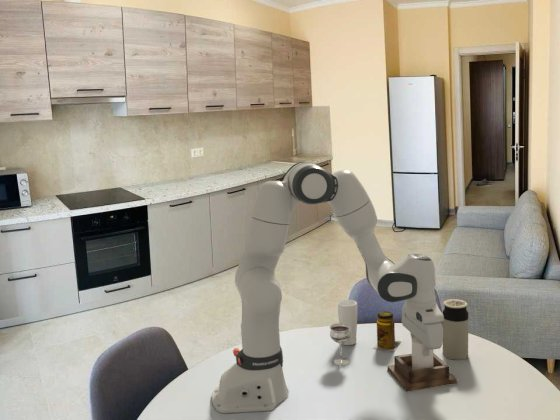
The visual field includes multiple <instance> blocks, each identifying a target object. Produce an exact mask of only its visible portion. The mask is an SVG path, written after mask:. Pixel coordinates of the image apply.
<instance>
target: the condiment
mask: <svg viewBox="0 0 560 420" xmlns="http://www.w3.org/2000/svg"><path fill="white" fill-rule="evenodd" d="M395 325H396V324H395V321H394V314H393V313H392V312H391V311H384V310H383V311H380V312H378V313H377V320H376V339H377V343H376V344H375V346H374V347H373V349H375V350H381V351H388V352H389V351H391V352H395V351H396V350H397V348H398V346H399V345H400V343H401V341H400V340H396V337H395V336H396V334H395V332H396V330H395Z"/></svg>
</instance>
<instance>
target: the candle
mask: <svg viewBox="0 0 560 420" xmlns="http://www.w3.org/2000/svg"><path fill="white" fill-rule="evenodd" d="M423 348H424V346H423V343H422V342H421V341H420V340H419V339H418V338H417V337H415V336H414V337H413V338H411V354H412V370H418V369H424V368H431V367H433V353H434V349H433V350H431V349H430V350H429V356H424V355H423Z"/></svg>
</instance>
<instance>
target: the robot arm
mask: <svg viewBox="0 0 560 420" xmlns="http://www.w3.org/2000/svg"><path fill="white" fill-rule="evenodd" d="M364 187H365V186H363V184H362V183H361V182H360V180H359V179H358V177H357V176H356V174H355V173H354V172H352V171H350V170H348V169H341V170H337V171H335V172H333V173H331V172H329V171H328V170H326V169H325V168H323V167H321V166H320V165H318V164H316V163H314V162H311V161H310V162H309V161H308V162H307V161H300V162H297V163H294V164H293V165H291V166H290V168H288V170H287V171H286V172H285V173H284V175H283V176H281V178H280V179H279V180H269V181H265V182H264V183H262V184H261V185H260V187H259V189H258V191H257V194H256V197H255V200H254V203H253V207H252V211H251V214H250V220H249V225H248V230H247V236H246V241H245V244H244V247H243V251H242V253H241V256H240V260H239V262H238V265H237V268H236V272H235V275H234V284H235V288H236V290H237V292H238V293H239V297H240V299H241V301H240V302H241V322H240V334H241V336H240V337H241V345H242V346H241V348H242V349H241V350H240V349H239V348H238V347H236V348H235V347H234V349H233V350H232V353H233V356H234V357H235V361H236V362H235V363H234V364H233V365H232V366H231V367H230V368H228V369H227V370H226V371H224V372H223V373H222V374H221V377H220V380H219V384H218V386H217V387H215V388H214V389H213V392H212V395H211V402H212V405H213V408H214V410H215V411H217V412H218V413H220V414H231V413H249V412H251V413H252V412H267V411H270V412H271V411H273V410H274V409H275V408H276V407H277V405H279V404H280V403H282V402H283V401H284V400H286V399H287V397H288V396H289V388H288V386H287V383H286V380H285V375H284V370H283V365H284V355H283V349H282V347H281V336H280V335H281V334H280V316H281V315H280V314H281V304H282V299H283V295H282V293H283V292H282V288H281V284H280V281H278V279H277V277H275V272H276V267H277V265H278V262H279V261H280V258H281V256H282V254H284V251H285V249H286V242H287V239H288V233H289V228H290V223H291V216H292V213H293V211H294V208H295V206H296V205H298V203H299V202H301V203H303V204H306V205H318V204H319V205H320V204H322V203H327V204H328V205H329V206H330V208H331V210H332V212H333V215H334V216H335V218H336V220H337V222H338V223H339V225H340V226H341V228H342V230H343V231H344V232H345V233H346V234H347V236H348V237H350V238H351V239H352V240H353V241H354V243H355V244H356V247H357V248H358V251H359V253H360V254H361V256H362V257H361V258H362V259H363V261H364V264H365V277H366V280H367V283H368V285H370V286H371V288H373V289H374V290H375V292H376V293H377V294H378V296H380V298H382V299H383V300H384V301H386V302H389V303H397V302H402V301H404V304H403V305H402V309H401V325H402V326H403V327H404V328H405V329H406V330H407V331H409V332H410V333H409V334H410V337H411V339H412V338H413V337H414V336H415V337H417V338H418V339H419V340H420V341H421V342H422V343H423V346H424V348H423V355H424V356H429V350H430V349H431V350H433V351H434V350H439V349H441V348H442V347H443V321H444V316H443V311H441V309H440V308H439V305H438V303H437V300H436V299H437V297H436V294H435V289H436V288H435V287H436V285H437V283H436V279H437V278H436V270H435V269H436V268H435V263H434V260H433V259H431V258H430V257H429V256H427V255H424V254H421V253H409V254H407V255H406V256H405V258H403V259H402V260H400V261H399V262H397V263H395V262H393V261H392V260H391V259H390V258H388V257H387V256H386V255H385V253H384V251H383V249H382V247H381V245H380V243H379V240H378V239H377V236H376V235H375V228H376V226H377V223H378V217H377V213H376V210H375V207H374V204H373V202H372V200H371V198H370V196H369V194H368V193H367V190H366V189H365V188H364Z"/></svg>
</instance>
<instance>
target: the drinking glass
mask: <svg viewBox="0 0 560 420" xmlns="http://www.w3.org/2000/svg"><path fill="white" fill-rule="evenodd" d="M337 316H338V323H342V324H347V325H349V326H350V329H349V330H350V332H351V335H350V338H349V339H348V340H347V341H346V342H344V343H343V344H342V345H344V346H353V345H355V344H357V330H358V329H357V327H358V302H357V301H356V300H353V299H342V300H340V301H338V302H337Z"/></svg>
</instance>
